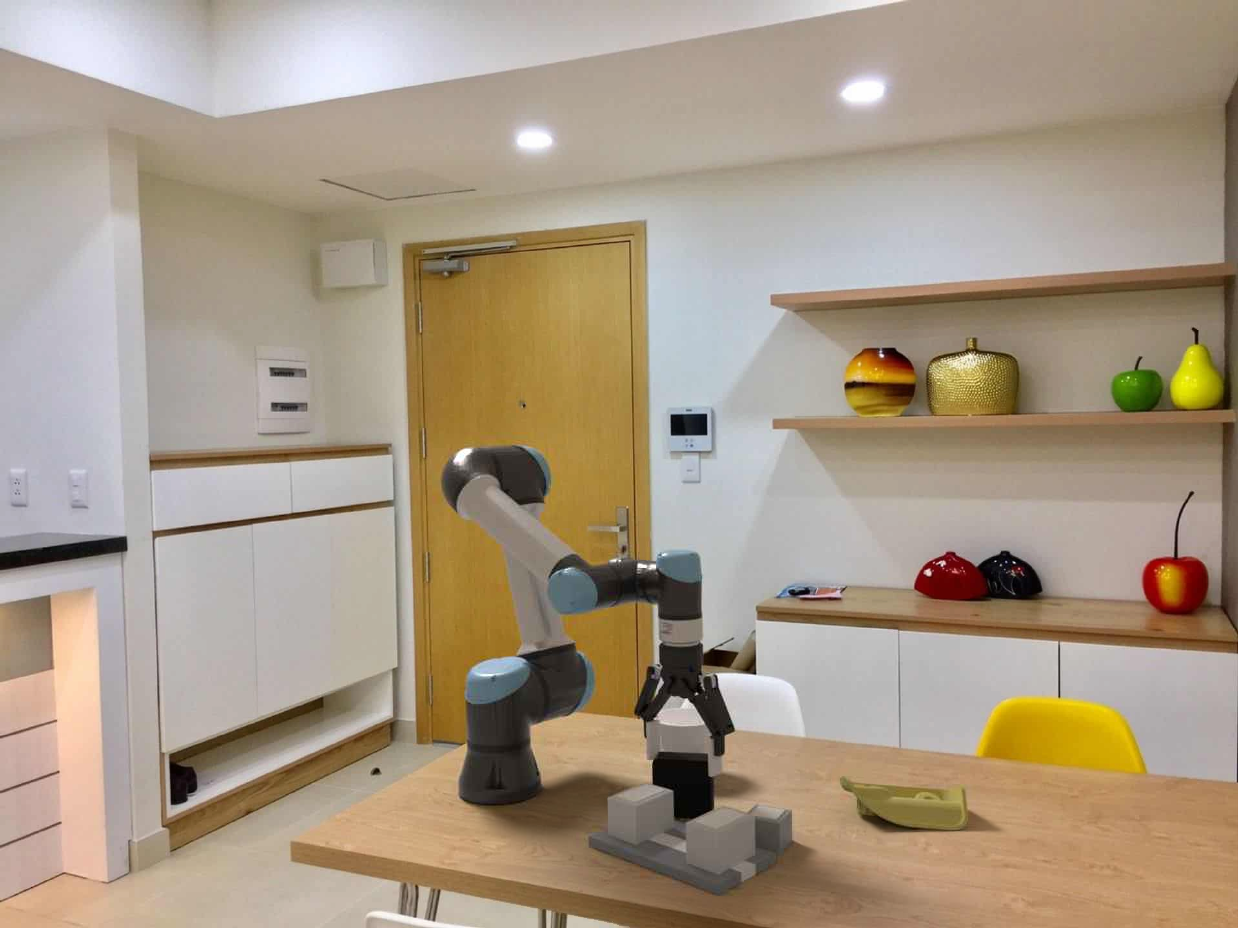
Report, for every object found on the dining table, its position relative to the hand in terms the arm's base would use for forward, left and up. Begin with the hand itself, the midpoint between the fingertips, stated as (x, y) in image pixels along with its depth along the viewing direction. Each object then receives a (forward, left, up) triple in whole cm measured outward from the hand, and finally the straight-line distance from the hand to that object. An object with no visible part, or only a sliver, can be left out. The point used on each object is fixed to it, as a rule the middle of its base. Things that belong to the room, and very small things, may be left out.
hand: (683, 766), depth 172 cm
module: (+18, -1, -8) cm, 20 cm away
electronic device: (0, 0, -9) cm, 9 cm away
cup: (-13, +16, -9) cm, 22 cm away
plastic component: (+28, +23, -9) cm, 37 cm away
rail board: (+10, -13, -8) cm, 18 cm away
